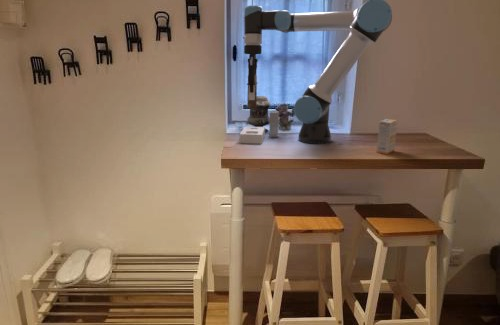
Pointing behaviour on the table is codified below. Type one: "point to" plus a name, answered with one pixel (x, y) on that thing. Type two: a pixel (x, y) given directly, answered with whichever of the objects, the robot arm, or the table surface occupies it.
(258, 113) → the apothecary jar
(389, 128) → the supplement box
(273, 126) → the square steel bar
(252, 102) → the walnut dowel
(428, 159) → the table surface
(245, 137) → the socket block
